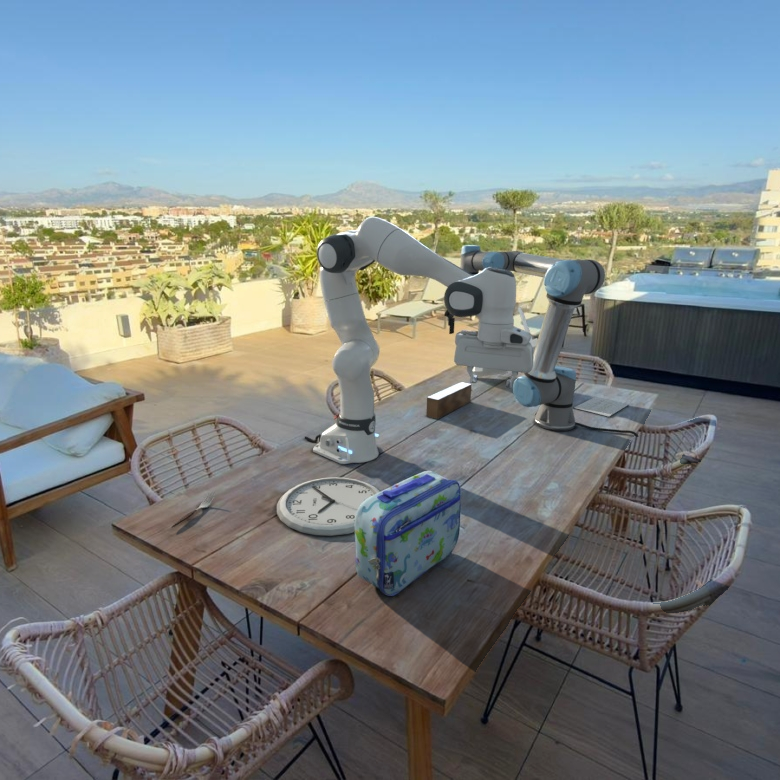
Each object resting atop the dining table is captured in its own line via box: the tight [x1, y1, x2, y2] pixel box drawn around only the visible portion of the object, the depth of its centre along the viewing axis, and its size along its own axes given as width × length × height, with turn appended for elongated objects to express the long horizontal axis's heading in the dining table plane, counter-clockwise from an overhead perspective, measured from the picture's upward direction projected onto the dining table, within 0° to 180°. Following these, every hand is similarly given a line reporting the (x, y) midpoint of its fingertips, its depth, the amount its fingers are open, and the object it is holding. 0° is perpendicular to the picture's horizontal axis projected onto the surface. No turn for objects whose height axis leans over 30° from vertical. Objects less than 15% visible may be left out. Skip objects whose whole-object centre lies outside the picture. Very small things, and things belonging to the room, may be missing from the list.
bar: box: [425, 381, 473, 420], centre depth 219 cm, size 28×5×8 cm, turn 143°
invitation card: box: [573, 396, 629, 418], centre depth 226 cm, size 21×1×15 cm
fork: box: [171, 493, 217, 529], centre depth 137 cm, size 3×16×2 cm, turn 160°
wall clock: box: [276, 476, 382, 537], centre depth 142 cm, size 30×2×30 cm
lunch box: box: [354, 470, 461, 597], centre depth 113 cm, size 26×11×21 cm, turn 134°
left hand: (491, 384), depth 138 cm, fingers open, 8 cm apart
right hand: (465, 335), depth 220 cm, fingers open, 13 cm apart
